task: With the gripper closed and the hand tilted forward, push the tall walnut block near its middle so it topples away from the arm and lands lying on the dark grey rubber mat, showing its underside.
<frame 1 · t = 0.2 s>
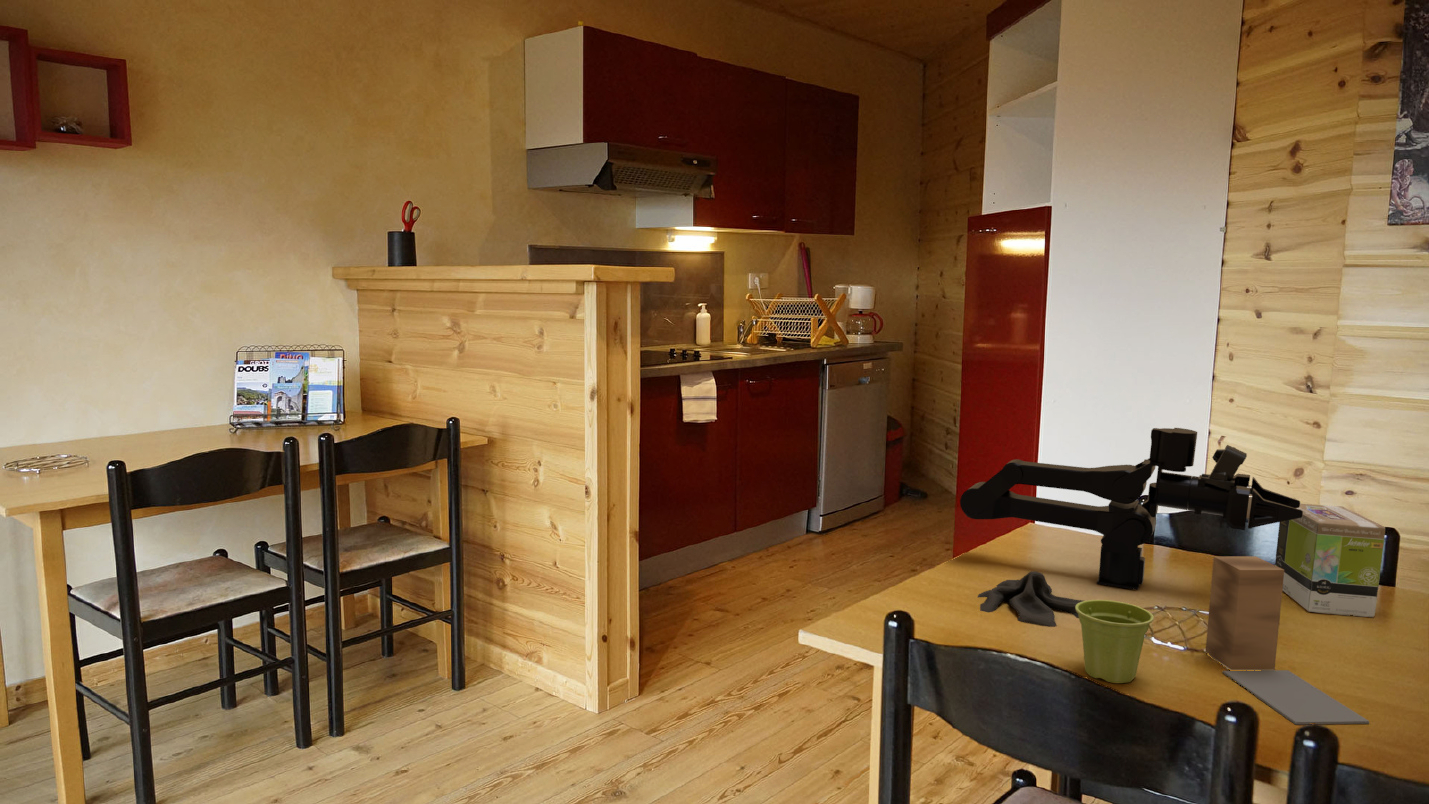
hand: (1301, 509, 147), 16 cm above the table, tool horizontal, fingers open, 9 cm apart
walnut block: (1239, 662, 128), on the table
tea box: (1321, 601, 154), on the table
cloth: (1023, 609, 150), on the table
rubber mat: (1291, 696, 117), on the table
plant pot: (1109, 675, 123), on the table
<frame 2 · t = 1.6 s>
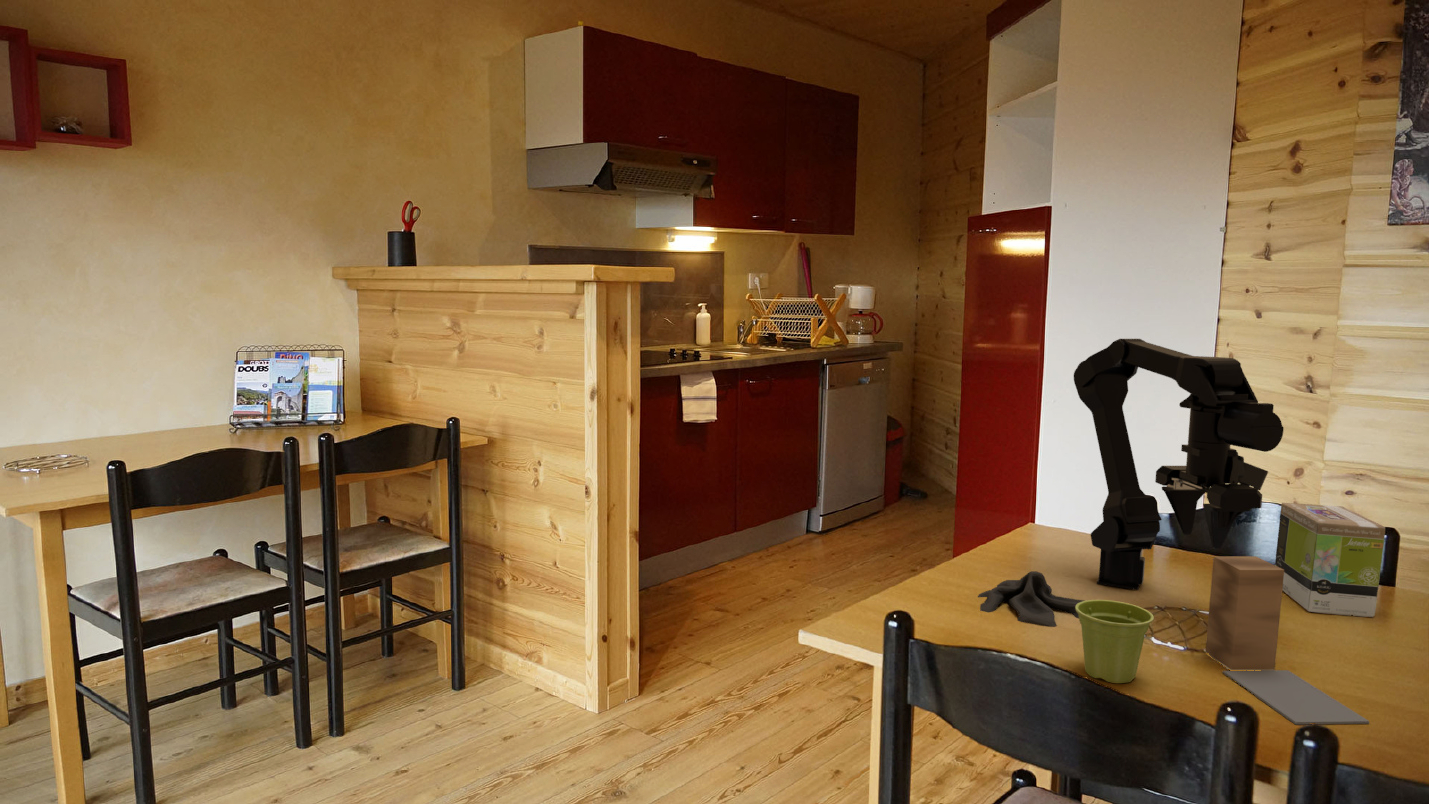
hand: (1201, 541, 144), 12 cm above the table, tool pointing down, fingers open, 8 cm apart
nothing on the table moved.
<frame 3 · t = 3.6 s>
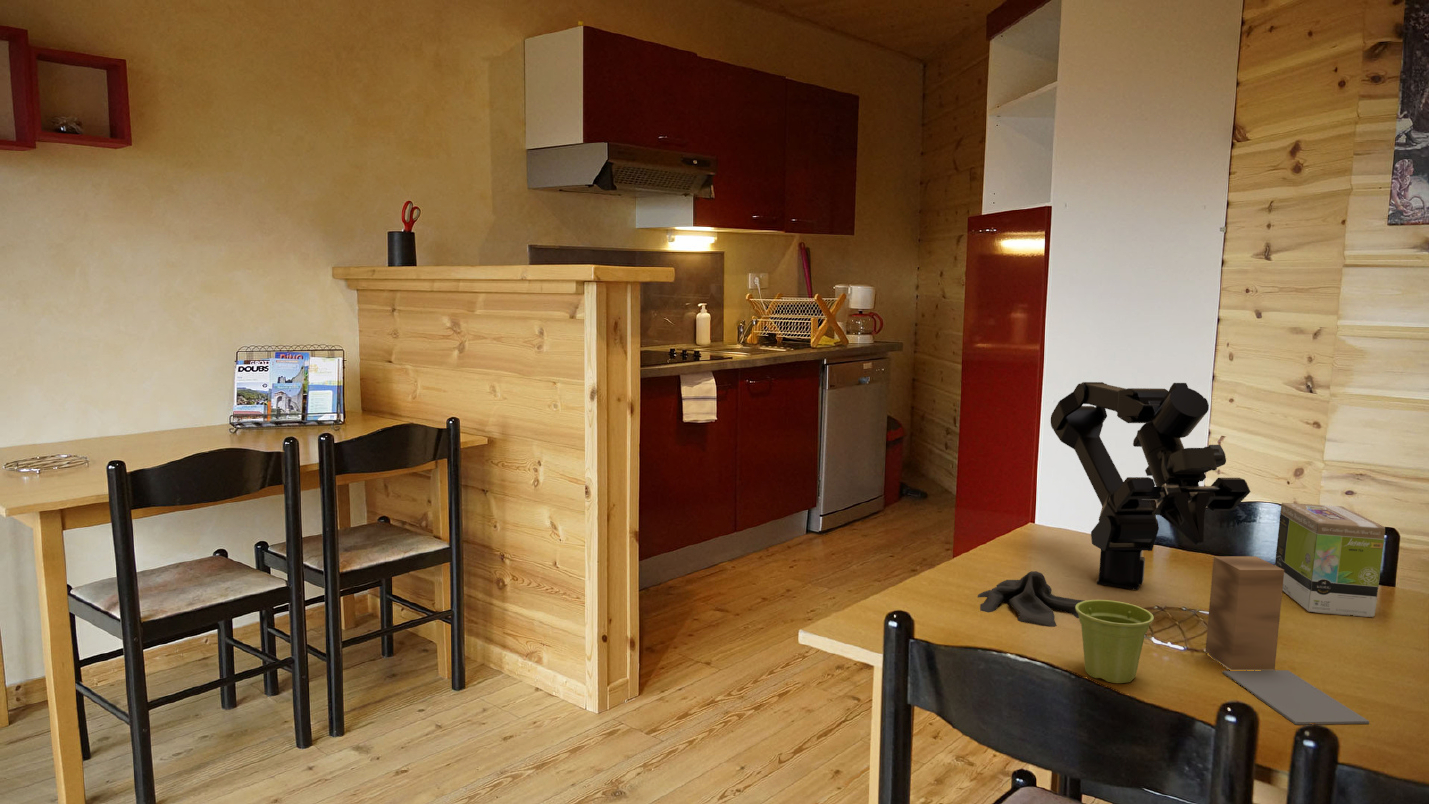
hand: (1199, 543, 138), 13 cm above the table, tool tilted 45°, fingers closed
nothing on the table moved.
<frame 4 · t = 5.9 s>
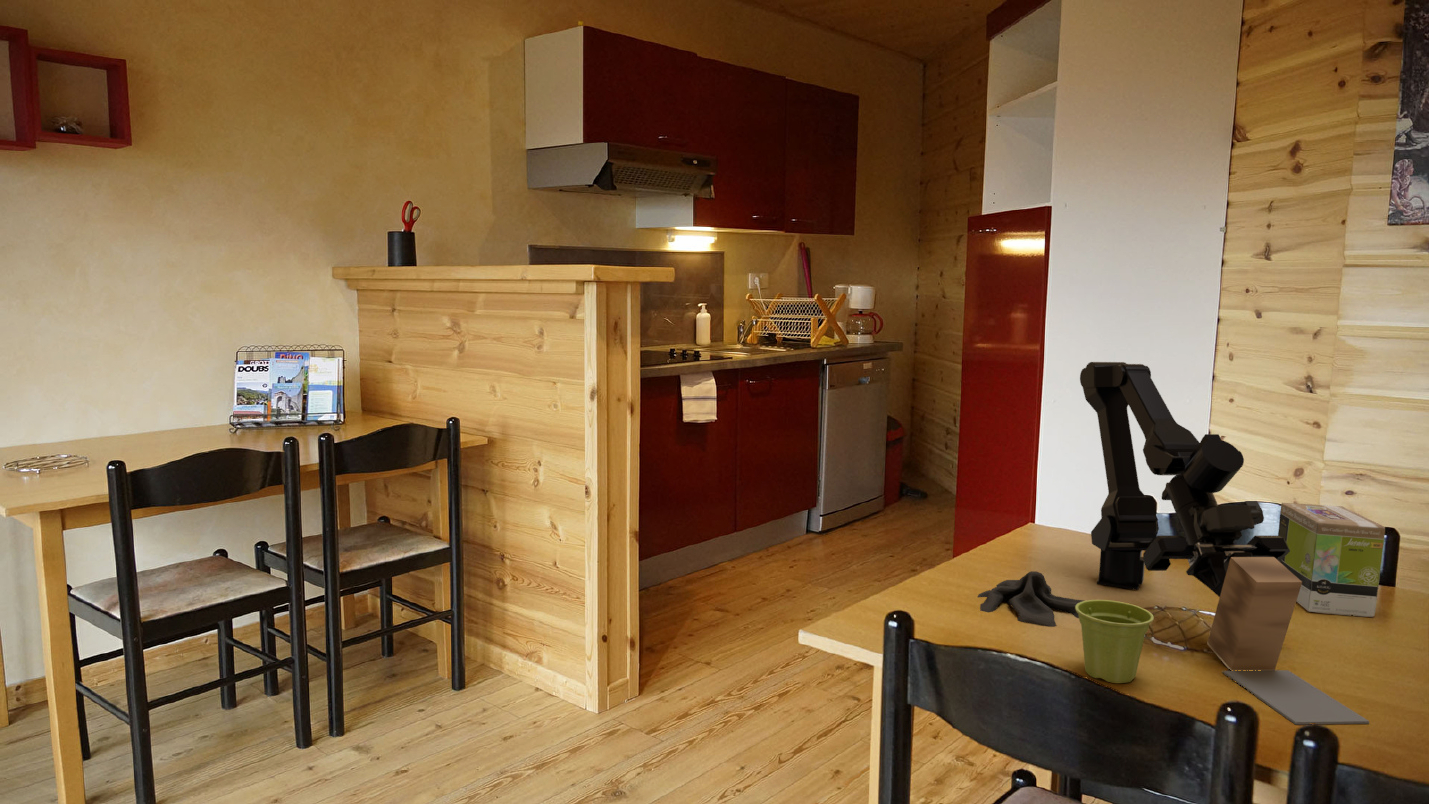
hand: (1237, 607, 129), 7 cm above the table, tool tilted 45°, fingers closed
walnut block: (1240, 657, 128), point 1 cm above the table, tilted 15°, touching gripper
everything else where it was.
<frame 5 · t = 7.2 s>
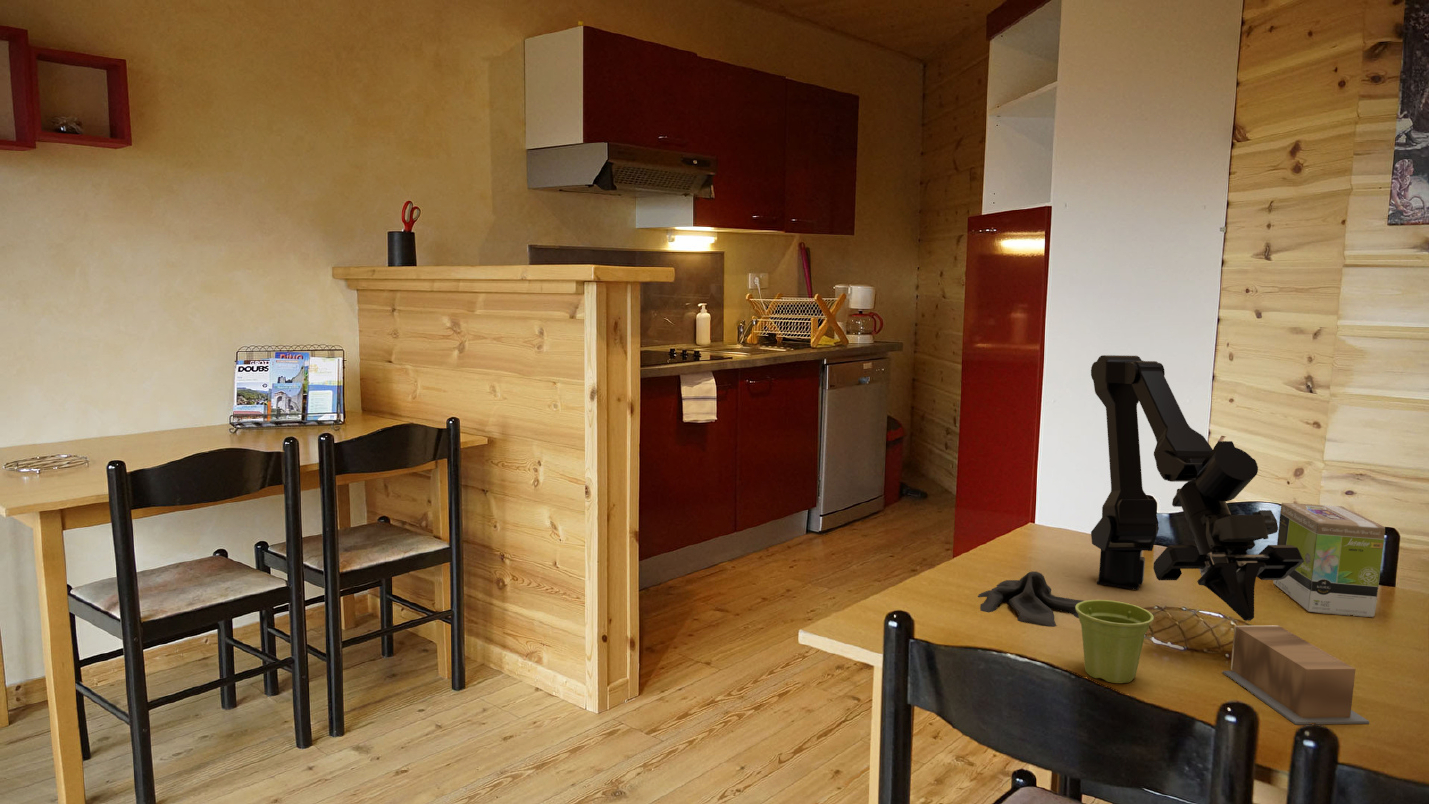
hand: (1249, 619, 126), 7 cm above the table, tool tilted 45°, fingers closed
walnut block: (1254, 647, 125), point 3 cm above the table, tilted 90°, touching rubber mat
everything else where it was.
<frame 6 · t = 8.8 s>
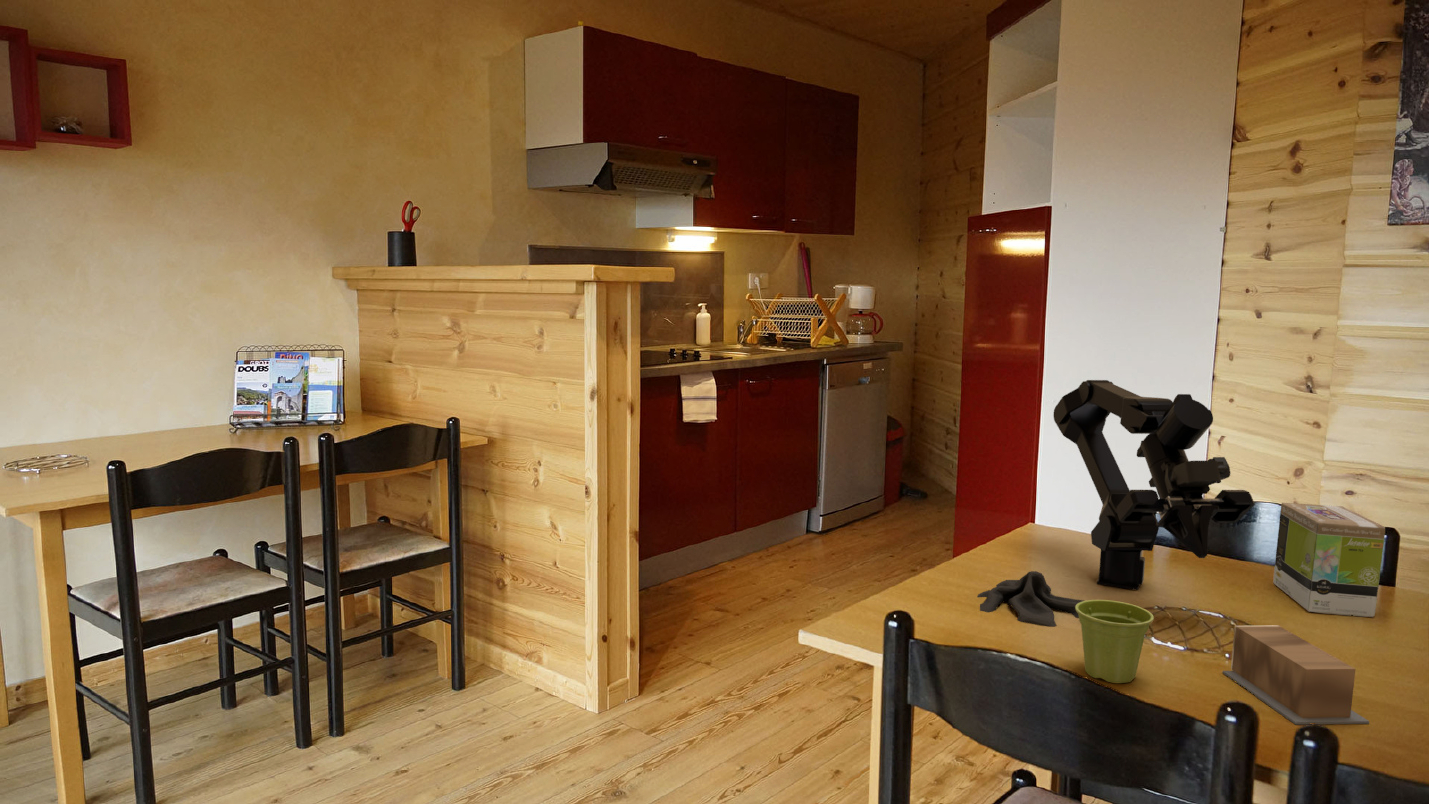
hand: (1203, 556, 137), 12 cm above the table, tool tilted 45°, fingers closed
nothing on the table moved.
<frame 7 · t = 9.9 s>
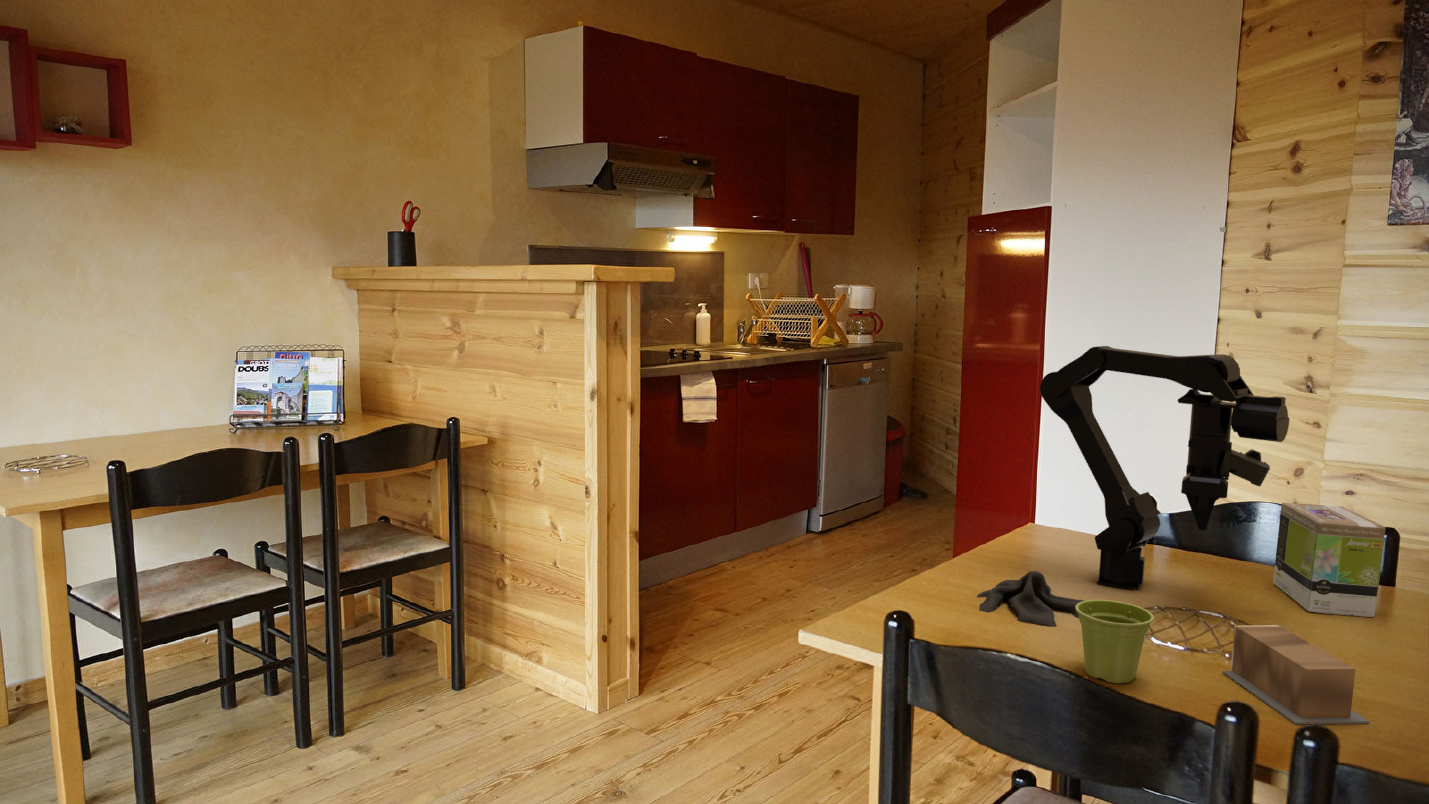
hand: (1202, 529, 151), 12 cm above the table, tool pointing down, fingers closed
nothing on the table moved.
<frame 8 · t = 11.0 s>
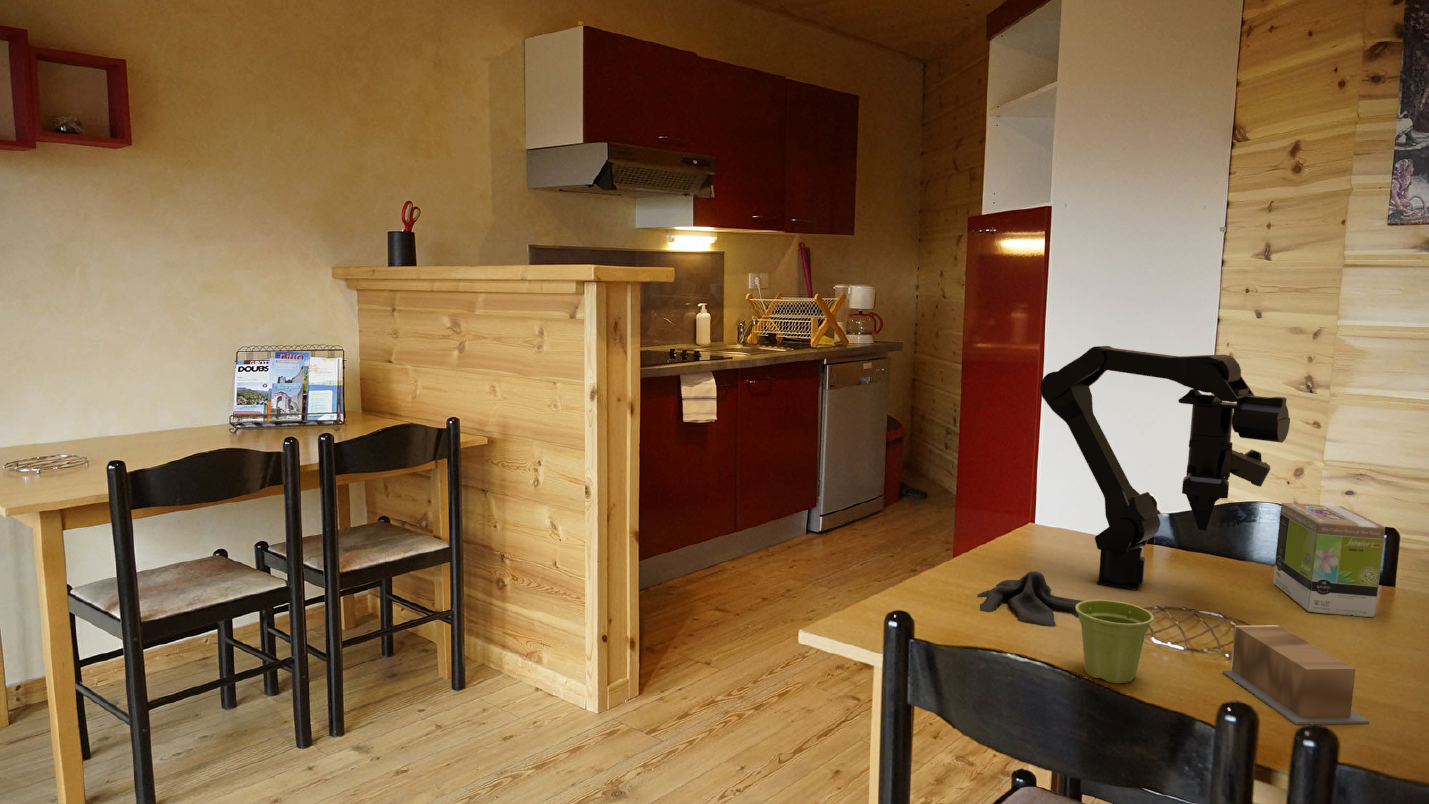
hand: (1202, 529, 151), 12 cm above the table, tool pointing down, fingers closed
nothing on the table moved.
at the end: walnut block tilted 90°; walnut block touching rubber mat; walnut block 7.8 cm from the rubber mat (horizontally) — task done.
